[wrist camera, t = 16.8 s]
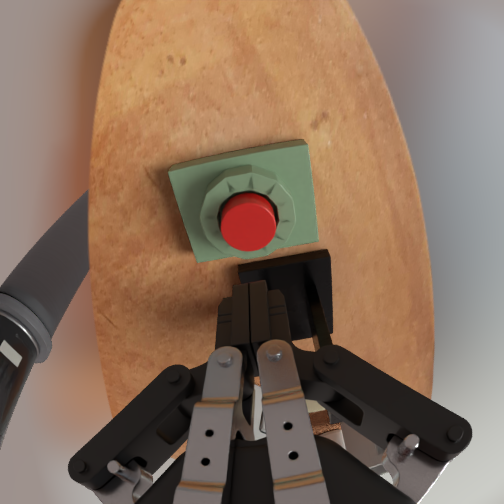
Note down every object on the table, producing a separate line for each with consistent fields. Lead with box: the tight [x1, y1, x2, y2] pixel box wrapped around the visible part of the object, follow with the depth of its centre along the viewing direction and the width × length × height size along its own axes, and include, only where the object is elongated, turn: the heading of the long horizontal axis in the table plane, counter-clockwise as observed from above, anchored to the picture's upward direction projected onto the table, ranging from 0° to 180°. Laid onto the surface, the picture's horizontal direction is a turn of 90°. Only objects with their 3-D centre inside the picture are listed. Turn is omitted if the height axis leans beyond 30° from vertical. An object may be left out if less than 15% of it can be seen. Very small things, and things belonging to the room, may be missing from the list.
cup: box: [340, 422, 388, 476], centre depth 39 cm, size 9×9×12 cm
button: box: [221, 193, 276, 251], centre depth 21 cm, size 4×4×2 cm
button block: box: [168, 139, 319, 263], centre depth 23 cm, size 10×8×4 cm
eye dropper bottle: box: [319, 429, 345, 449], centre depth 45 cm, size 4×6×12 cm
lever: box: [305, 399, 325, 413], centre depth 25 cm, size 13×3×3 cm
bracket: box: [238, 249, 343, 424], centre depth 25 cm, size 10×8×13 cm
